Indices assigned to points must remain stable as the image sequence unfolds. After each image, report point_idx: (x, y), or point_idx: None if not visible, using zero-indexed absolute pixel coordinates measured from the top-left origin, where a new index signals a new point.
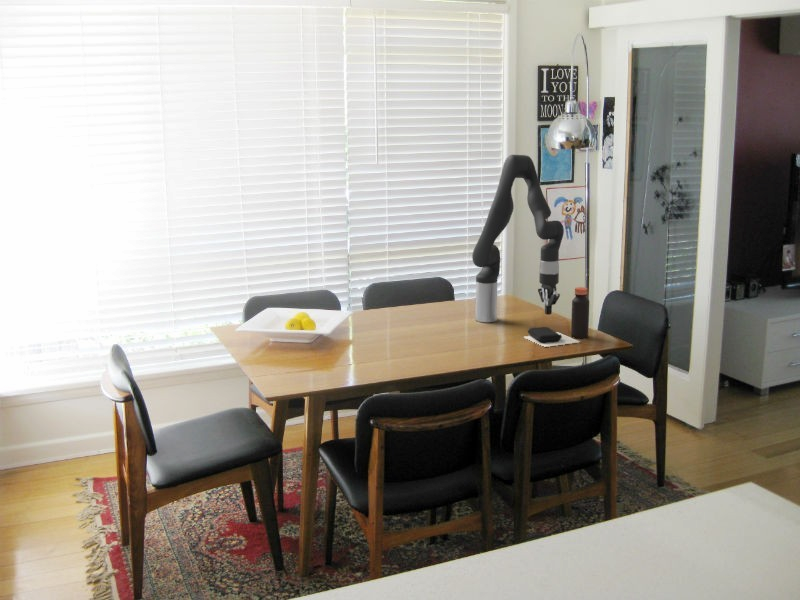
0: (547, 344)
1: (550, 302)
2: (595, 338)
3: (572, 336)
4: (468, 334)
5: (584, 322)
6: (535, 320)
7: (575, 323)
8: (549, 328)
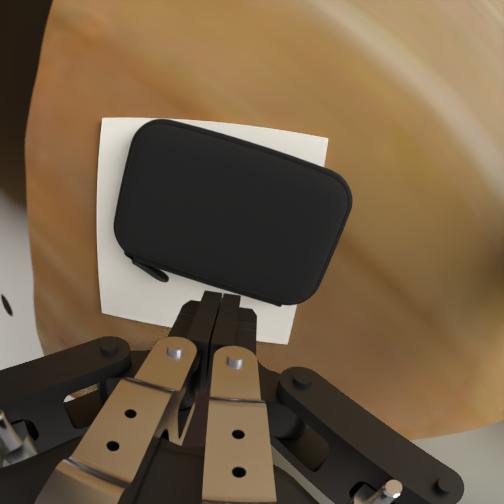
0: (122, 148)
1: (77, 354)
2: None
3: None
4: (487, 9)
5: None
6: (469, 369)
7: None
8: (259, 289)
